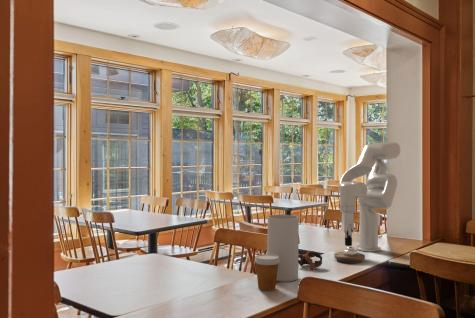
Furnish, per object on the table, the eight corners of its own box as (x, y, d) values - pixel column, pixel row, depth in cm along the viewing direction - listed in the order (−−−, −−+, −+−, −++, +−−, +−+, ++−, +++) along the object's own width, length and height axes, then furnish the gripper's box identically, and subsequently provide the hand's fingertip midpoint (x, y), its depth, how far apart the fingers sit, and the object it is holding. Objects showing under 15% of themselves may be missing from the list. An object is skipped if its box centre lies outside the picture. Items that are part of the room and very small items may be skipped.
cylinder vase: (296, 283, 180) (297, 219, 180) (265, 281, 182) (265, 218, 182) (299, 275, 192) (299, 215, 192) (269, 273, 195) (269, 214, 194)
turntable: (332, 256, 227) (332, 250, 227) (361, 257, 226) (361, 251, 226) (336, 263, 213) (336, 257, 213) (367, 264, 212) (367, 258, 212)
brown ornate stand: (316, 265, 211) (323, 251, 208) (318, 279, 203) (325, 265, 199) (291, 259, 211) (297, 245, 207) (292, 272, 202) (298, 258, 198)
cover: (342, 253, 222) (342, 245, 222) (355, 254, 221) (355, 246, 221) (344, 256, 216) (344, 248, 216) (357, 256, 215) (357, 248, 215)
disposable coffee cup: (272, 293, 166) (272, 260, 166) (249, 289, 171) (249, 257, 171) (283, 287, 174) (284, 255, 174) (261, 283, 179) (262, 252, 179)
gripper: (338, 206, 235) (338, 242, 236) (342, 211, 220) (342, 249, 221) (353, 206, 234) (353, 241, 235) (358, 211, 219) (358, 249, 220)
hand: (348, 245), depth 228 cm, fingers closed
